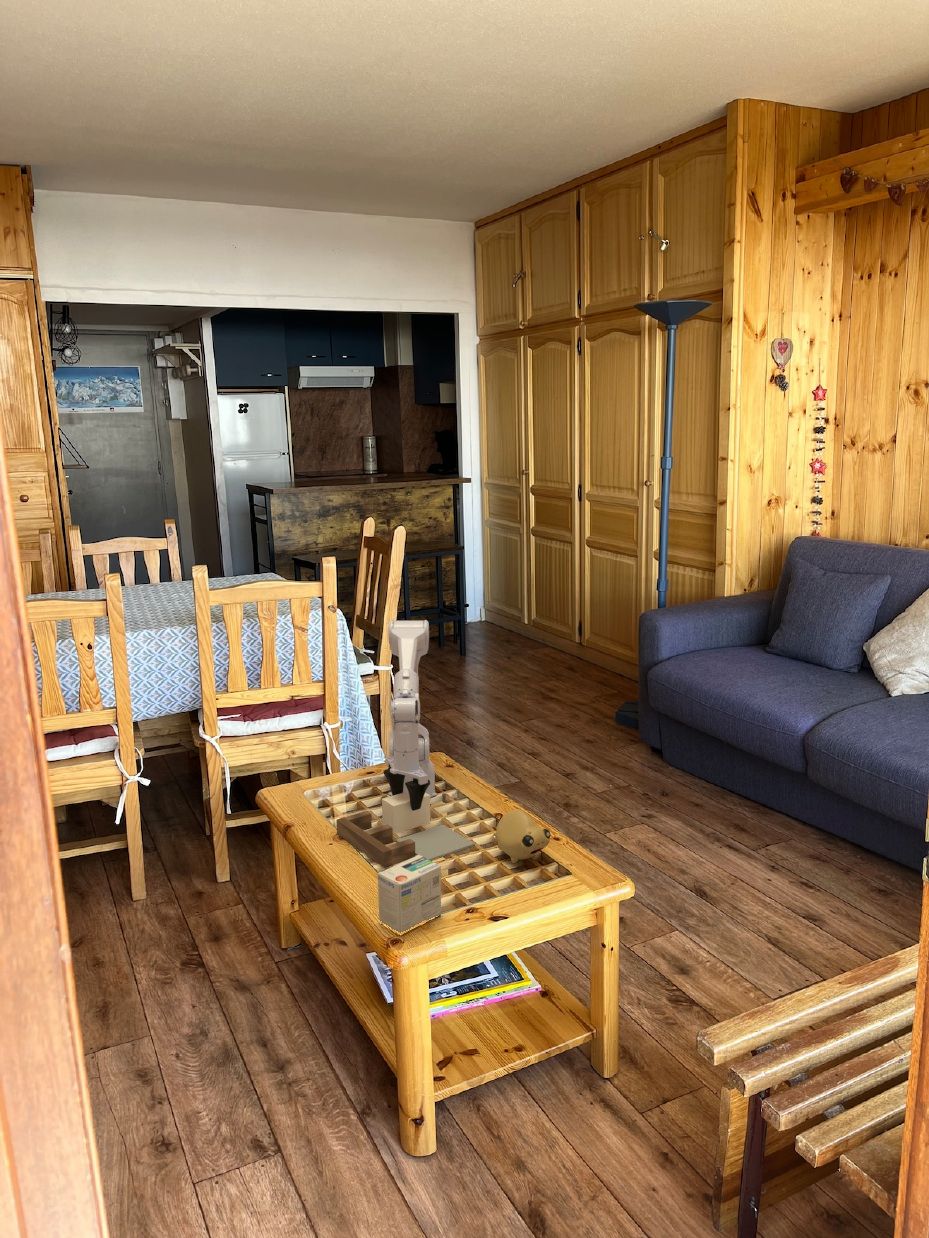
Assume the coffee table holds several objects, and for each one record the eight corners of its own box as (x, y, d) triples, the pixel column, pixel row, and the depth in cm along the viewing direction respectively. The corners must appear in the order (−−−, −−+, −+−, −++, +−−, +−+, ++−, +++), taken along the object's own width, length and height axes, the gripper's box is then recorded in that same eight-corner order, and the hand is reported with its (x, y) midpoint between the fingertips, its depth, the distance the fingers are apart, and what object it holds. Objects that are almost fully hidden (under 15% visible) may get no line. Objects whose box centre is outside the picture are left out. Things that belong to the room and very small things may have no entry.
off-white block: (418, 815, 226) (417, 788, 225) (430, 823, 223) (430, 795, 221) (382, 826, 221) (381, 798, 219) (394, 834, 217) (393, 806, 215)
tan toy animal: (522, 876, 198) (523, 828, 195) (487, 854, 207) (487, 809, 205) (558, 862, 203) (559, 816, 201) (522, 842, 213) (522, 797, 210)
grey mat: (443, 826, 221) (443, 824, 220) (474, 845, 211) (474, 843, 211) (395, 841, 213) (395, 839, 213) (426, 862, 204) (426, 860, 203)
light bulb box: (419, 903, 187) (418, 852, 185) (442, 916, 183) (442, 864, 180) (377, 923, 180) (375, 871, 178) (400, 937, 175) (399, 884, 173)
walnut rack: (367, 824, 222) (366, 810, 221) (415, 856, 206) (415, 841, 205) (336, 833, 217) (336, 819, 216) (383, 867, 201) (383, 852, 201)
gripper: (374, 742, 221) (375, 797, 224) (409, 761, 209) (409, 818, 212) (399, 736, 225) (400, 790, 228) (435, 754, 214) (435, 810, 217)
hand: (406, 803), depth 220 cm, fingers open, 7 cm apart
